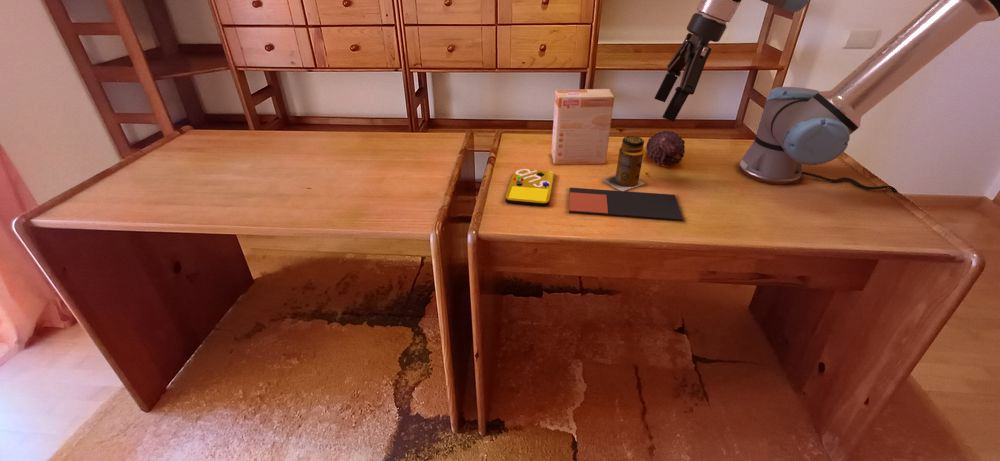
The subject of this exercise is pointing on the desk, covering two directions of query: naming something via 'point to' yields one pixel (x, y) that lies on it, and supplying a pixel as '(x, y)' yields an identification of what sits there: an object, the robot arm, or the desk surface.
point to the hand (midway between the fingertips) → (663, 109)
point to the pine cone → (666, 148)
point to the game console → (530, 188)
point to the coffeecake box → (581, 126)
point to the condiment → (628, 164)
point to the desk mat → (624, 204)
